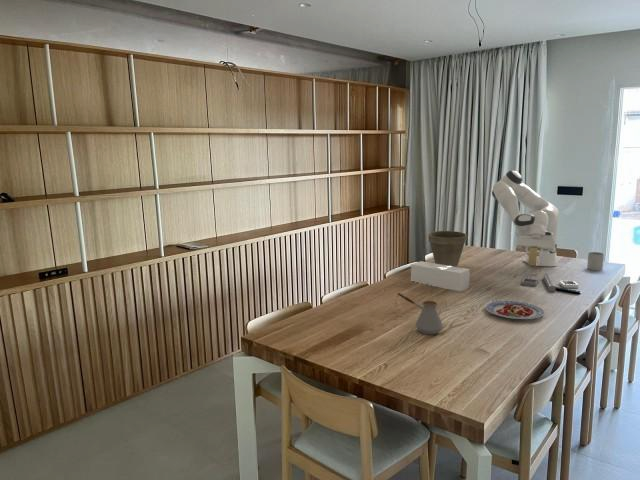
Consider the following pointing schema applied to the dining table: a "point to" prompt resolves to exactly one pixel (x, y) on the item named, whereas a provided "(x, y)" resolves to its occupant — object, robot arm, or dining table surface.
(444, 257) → the plant pot
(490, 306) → the ceramic plate
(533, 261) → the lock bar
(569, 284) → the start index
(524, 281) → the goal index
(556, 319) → the dining table surface
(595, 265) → the cup
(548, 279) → the long grey bar
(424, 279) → the white rectangular block
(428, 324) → the coffee pot
